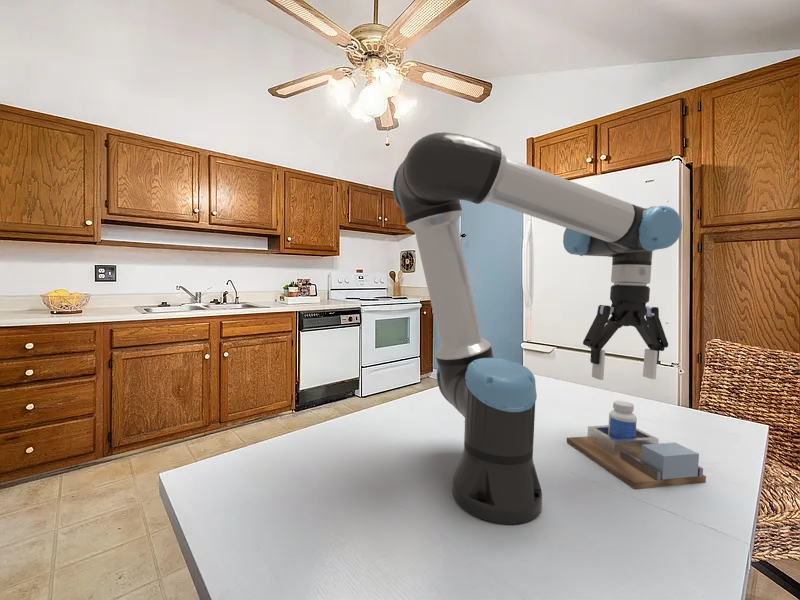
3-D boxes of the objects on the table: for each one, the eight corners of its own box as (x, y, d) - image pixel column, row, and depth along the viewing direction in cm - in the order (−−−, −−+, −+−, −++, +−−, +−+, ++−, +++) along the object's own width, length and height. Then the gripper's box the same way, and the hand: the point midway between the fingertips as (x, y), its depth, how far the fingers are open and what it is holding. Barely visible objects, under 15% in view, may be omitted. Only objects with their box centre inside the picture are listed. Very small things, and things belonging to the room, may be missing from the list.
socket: (614, 455, 79) (615, 441, 79) (587, 438, 88) (587, 426, 88) (657, 452, 82) (658, 438, 81) (627, 436, 90) (627, 424, 90)
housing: (662, 479, 70) (663, 456, 69) (640, 466, 75) (641, 444, 74) (697, 476, 71) (699, 453, 71) (673, 463, 76) (675, 442, 76)
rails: (657, 480, 69) (657, 472, 69) (620, 458, 78) (620, 450, 78) (702, 476, 71) (703, 468, 71) (661, 454, 80) (662, 447, 80)
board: (634, 488, 69) (635, 482, 69) (566, 442, 88) (567, 437, 88) (705, 482, 72) (706, 476, 72) (624, 438, 91) (624, 434, 91)
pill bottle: (639, 452, 81) (642, 408, 81) (612, 449, 83) (615, 406, 82) (629, 441, 87) (631, 400, 86) (604, 438, 88) (606, 398, 87)
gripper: (592, 282, 77) (586, 383, 78) (692, 287, 82) (685, 381, 83) (569, 282, 84) (564, 374, 85) (662, 286, 89) (655, 373, 90)
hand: (623, 378), depth 84 cm, fingers open, 13 cm apart
